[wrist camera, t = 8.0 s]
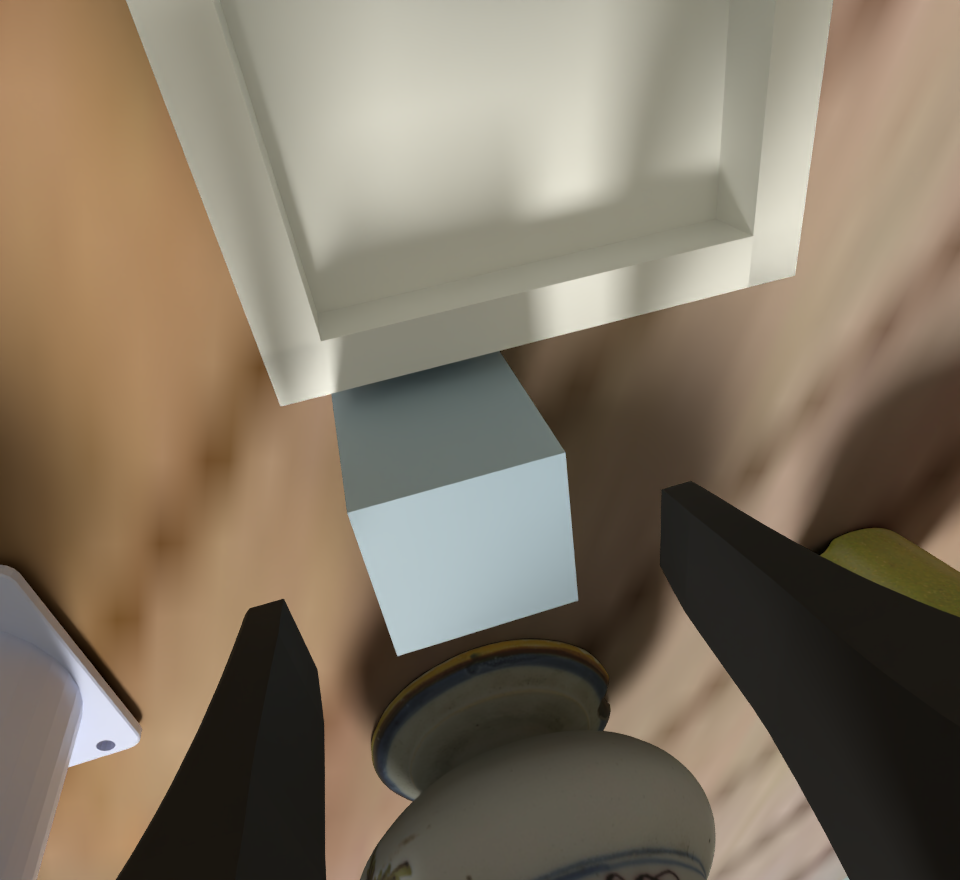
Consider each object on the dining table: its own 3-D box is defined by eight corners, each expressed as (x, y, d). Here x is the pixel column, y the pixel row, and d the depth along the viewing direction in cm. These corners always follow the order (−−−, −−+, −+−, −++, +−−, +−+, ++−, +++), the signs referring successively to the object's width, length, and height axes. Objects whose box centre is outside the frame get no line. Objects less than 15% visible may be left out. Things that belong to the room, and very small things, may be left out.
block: (366, 486, 18) (397, 656, 14) (327, 362, 16) (347, 512, 11) (501, 449, 19) (578, 600, 14) (482, 324, 17) (565, 452, 12)
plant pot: (774, 502, 23) (991, 714, 16) (979, 478, 25) (1246, 654, 18) (706, 674, 28) (850, 895, 21) (883, 641, 30) (1065, 829, 23)
